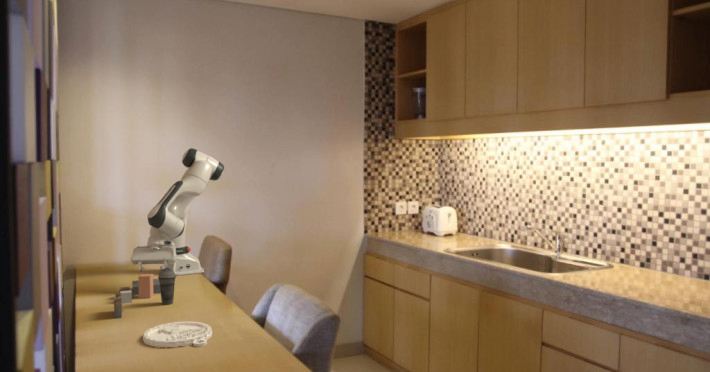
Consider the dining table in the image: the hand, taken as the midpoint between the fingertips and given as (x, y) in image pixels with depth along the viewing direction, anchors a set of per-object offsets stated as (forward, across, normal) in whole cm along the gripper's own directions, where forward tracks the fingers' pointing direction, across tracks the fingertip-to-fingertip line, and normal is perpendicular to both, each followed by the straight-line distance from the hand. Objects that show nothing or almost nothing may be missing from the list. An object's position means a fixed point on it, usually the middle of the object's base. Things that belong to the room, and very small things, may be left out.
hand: (151, 270), depth 262 cm
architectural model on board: (+32, -4, -15) cm, 35 cm away
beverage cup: (+20, +11, -5) cm, 24 cm away
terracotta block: (+12, -1, +4) cm, 12 cm away
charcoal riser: (+4, -4, +12) cm, 13 cm away
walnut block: (+12, -10, +3) cm, 16 cm away
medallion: (+54, +28, -37) cm, 71 cm away
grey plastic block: (+17, -7, -2) cm, 19 cm away
